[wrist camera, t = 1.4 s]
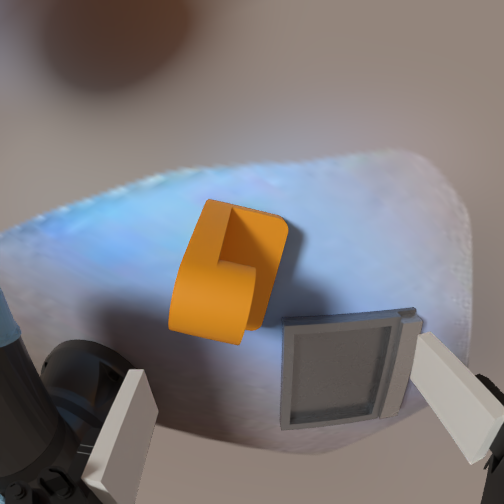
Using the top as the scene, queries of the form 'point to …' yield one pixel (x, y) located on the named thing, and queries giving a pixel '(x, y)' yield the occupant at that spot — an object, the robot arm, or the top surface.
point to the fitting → (345, 366)
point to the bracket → (227, 272)
